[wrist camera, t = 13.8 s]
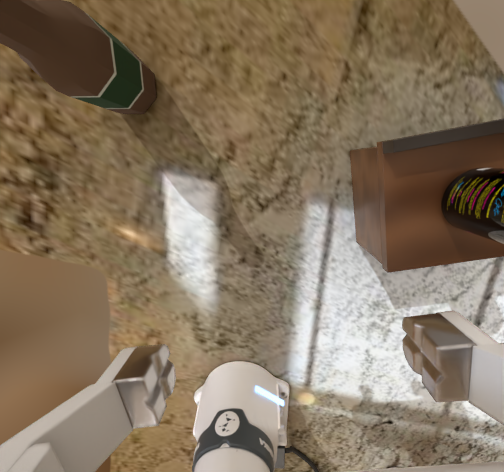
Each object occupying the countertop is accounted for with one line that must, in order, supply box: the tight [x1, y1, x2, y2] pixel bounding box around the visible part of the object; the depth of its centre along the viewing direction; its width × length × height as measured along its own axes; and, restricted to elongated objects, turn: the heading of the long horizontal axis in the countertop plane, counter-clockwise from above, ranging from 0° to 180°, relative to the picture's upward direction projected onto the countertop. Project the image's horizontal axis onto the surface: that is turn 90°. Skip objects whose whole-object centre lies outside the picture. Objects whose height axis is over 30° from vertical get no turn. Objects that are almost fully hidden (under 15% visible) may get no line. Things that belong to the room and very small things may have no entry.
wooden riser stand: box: [350, 119, 504, 272], centre depth 32 cm, size 15×18×13 cm
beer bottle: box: [0, 0, 157, 114], centre depth 24 cm, size 8×8×24 cm
